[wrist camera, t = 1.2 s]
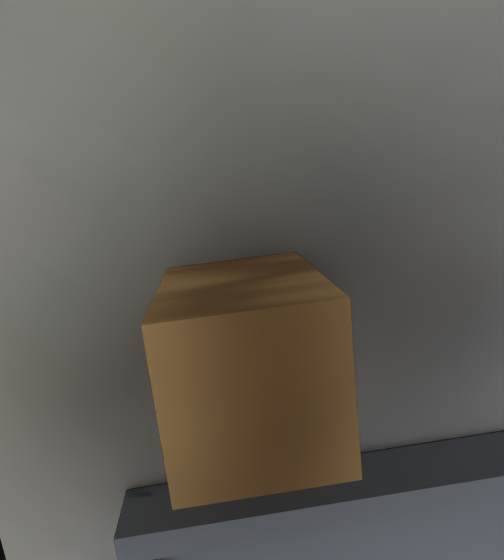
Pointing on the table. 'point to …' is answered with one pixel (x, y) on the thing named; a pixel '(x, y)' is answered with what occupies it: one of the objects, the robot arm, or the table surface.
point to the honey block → (252, 379)
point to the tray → (341, 513)
